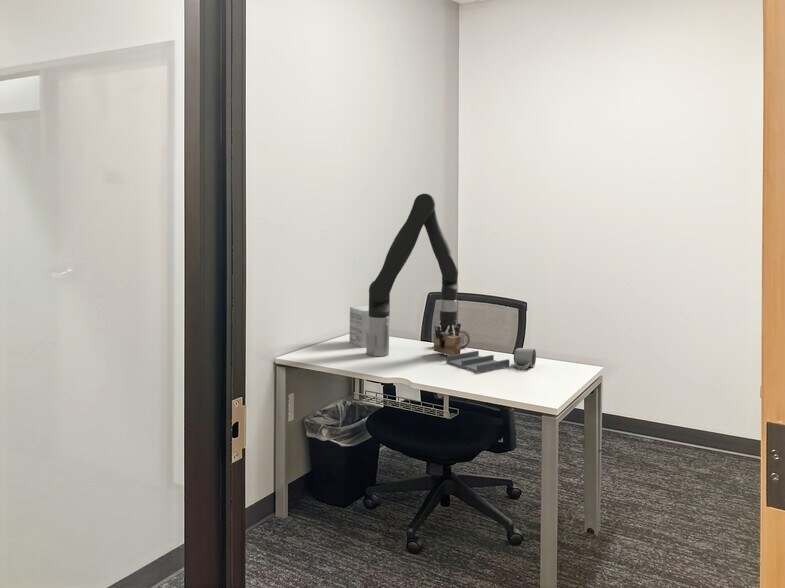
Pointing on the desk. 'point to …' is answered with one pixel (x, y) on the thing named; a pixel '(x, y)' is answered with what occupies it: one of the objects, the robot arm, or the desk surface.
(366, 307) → the supplement box
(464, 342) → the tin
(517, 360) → the ceramic mug
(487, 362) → the rack
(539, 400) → the desk surface
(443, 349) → the wooden toy brick
